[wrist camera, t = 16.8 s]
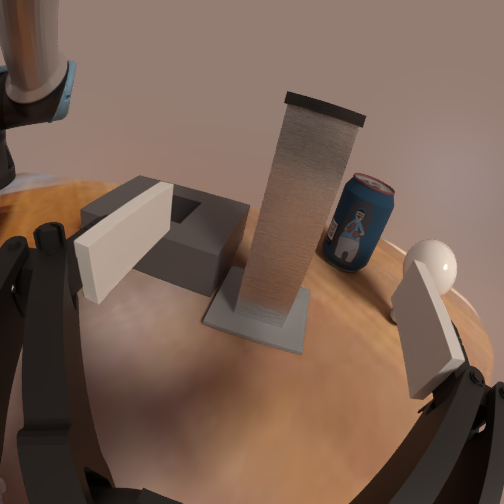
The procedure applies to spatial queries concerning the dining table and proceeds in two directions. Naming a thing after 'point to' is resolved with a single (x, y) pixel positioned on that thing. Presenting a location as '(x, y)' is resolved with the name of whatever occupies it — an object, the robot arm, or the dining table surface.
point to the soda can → (358, 222)
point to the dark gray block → (184, 234)
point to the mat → (252, 329)
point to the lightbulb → (433, 264)
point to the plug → (295, 204)
